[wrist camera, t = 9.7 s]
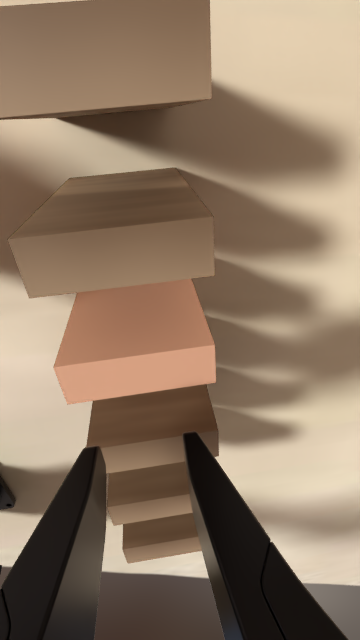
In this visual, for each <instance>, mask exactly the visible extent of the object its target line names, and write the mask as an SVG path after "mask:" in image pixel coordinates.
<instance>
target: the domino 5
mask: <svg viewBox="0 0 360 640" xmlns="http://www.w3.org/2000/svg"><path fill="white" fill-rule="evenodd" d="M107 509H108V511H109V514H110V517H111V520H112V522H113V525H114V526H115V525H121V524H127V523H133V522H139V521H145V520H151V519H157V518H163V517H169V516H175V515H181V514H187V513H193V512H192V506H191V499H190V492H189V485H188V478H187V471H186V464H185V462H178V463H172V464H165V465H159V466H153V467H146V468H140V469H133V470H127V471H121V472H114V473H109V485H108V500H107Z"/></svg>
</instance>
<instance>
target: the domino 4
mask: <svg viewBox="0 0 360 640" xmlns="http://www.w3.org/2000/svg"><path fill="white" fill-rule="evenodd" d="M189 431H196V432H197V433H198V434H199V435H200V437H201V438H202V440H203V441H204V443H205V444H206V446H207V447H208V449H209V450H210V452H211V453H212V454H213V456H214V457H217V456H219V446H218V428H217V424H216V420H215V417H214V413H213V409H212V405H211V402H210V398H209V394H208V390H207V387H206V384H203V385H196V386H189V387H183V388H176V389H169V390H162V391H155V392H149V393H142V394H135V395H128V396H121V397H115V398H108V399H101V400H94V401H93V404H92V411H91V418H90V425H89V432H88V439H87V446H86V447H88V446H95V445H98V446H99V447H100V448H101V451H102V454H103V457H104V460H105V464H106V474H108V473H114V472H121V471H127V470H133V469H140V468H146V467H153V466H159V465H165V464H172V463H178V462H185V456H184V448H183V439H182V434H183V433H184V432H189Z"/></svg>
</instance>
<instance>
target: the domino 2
mask: <svg viewBox="0 0 360 640" xmlns="http://www.w3.org/2000/svg"><path fill="white" fill-rule="evenodd" d="M7 240H8V242H9V245H10V248H11V250H12V253H13V256H14V259H15V261H16V264H17V267H18V269H19V272H20V275H21V277H22V280H23V283H24V285H25V288H26V291H27V294H28V296H29V298H36V297H45V296H53V295H61V294H69V293H77V292H86V291H94V290H102V289H110V288H118V287H126V286H135V285H143V284H151V283H159V282H167V281H176V280H184V279H192V278H200V277H208V276H215V263H214V216H213V215H212V214H211V213H210V211H209V210H208V209H207V208H206V206H205V205H204V204H203V202H202V201H201V200H200V199H199V197H198V196H197V195H196V193H195V192H194V191H193V190H192V188H191V187H190V186H189V185H188V183H187V182H186V181H185V179H184V178H183V177H182V176H181V174H180V173H179V172H178V170H177V169H176V168H166V169H156V170H146V171H136V172H126V173H116V174H106V175H97V176H87V177H77V178H69V179H68V180H67V181H66V182H65V183H64V184H63V185H62V186H61V187H60V188H59V189H58V190H57V191H56V192H55V193H54V194H53V195H52V196H51V197H50V198H49V199H48V200H47V201H46V202H45V203H44V204H43V205H42V206H41V207H40V208H39V209H38V210H37V211H36V212H35V213H34V214H33V215H32V216H31V217H30V218H29V219H28V220H27V221H26V222H25V223H24V224H23V225H22V226H21V227H20V228H19V229H17V230H16V231H15V232H14V233H13V234H12V235H11V236H10V237H9V238H8V239H7Z"/></svg>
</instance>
